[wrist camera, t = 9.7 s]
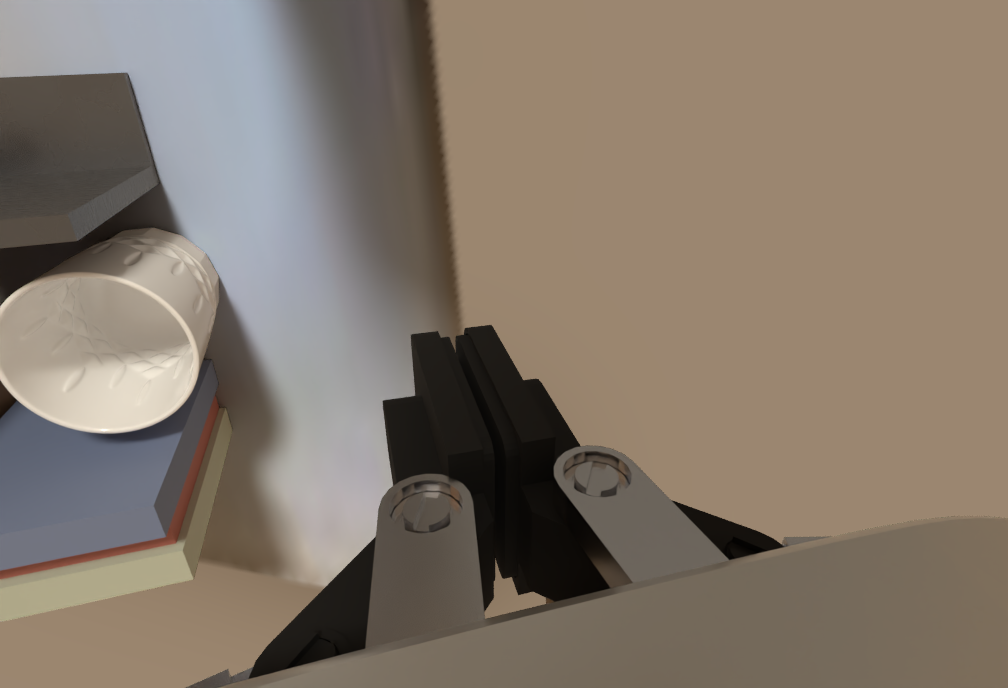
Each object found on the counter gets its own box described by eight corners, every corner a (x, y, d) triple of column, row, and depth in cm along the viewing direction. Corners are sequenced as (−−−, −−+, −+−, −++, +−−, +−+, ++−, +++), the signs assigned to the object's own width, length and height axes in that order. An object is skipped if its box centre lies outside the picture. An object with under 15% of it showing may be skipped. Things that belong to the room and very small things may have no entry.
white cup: (196, 363, 37) (155, 457, 28) (55, 307, 33) (-42, 393, 24) (254, 260, 35) (229, 325, 26) (112, 189, 31) (29, 237, 23)
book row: (31, 385, 35) (-131, 559, 22) (211, 359, 37) (153, 505, 25) (65, 459, 37) (-63, 652, 25) (232, 430, 39) (189, 596, 27)
